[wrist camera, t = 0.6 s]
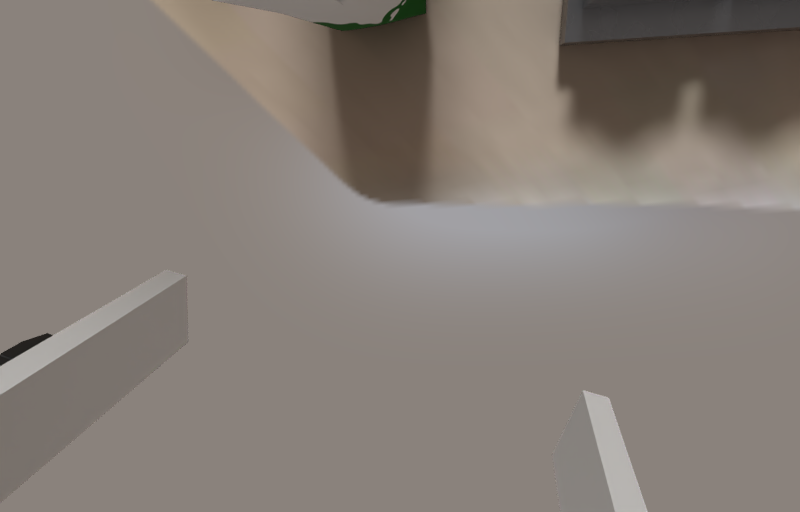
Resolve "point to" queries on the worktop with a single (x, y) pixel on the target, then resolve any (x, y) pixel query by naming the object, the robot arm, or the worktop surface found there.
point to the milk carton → (341, 11)
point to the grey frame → (672, 19)
